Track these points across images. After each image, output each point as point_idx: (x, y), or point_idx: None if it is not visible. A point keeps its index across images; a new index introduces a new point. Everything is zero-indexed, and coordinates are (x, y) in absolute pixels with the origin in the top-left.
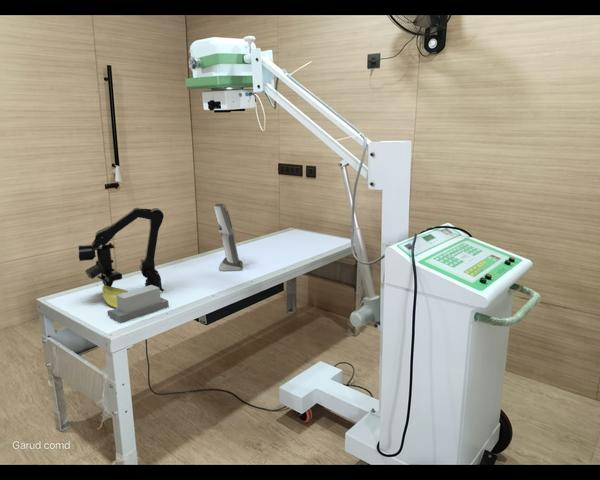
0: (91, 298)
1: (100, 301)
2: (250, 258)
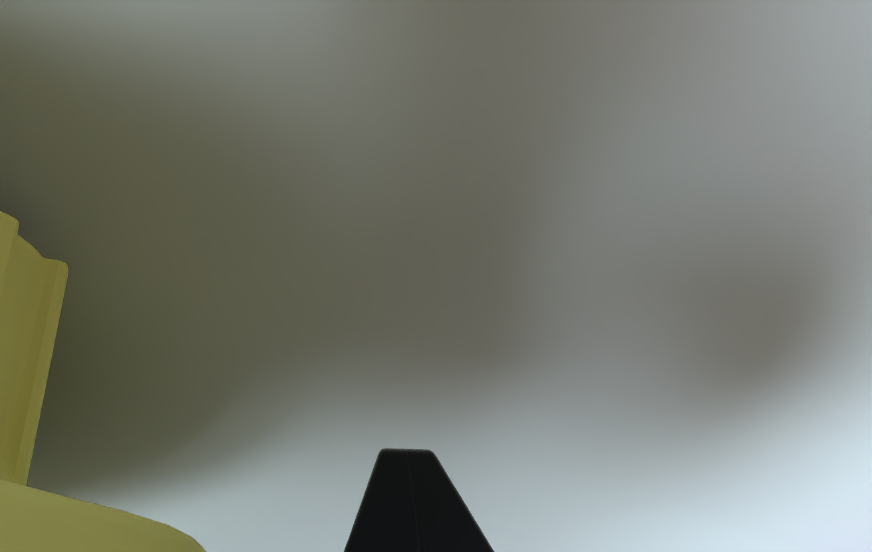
0: (835, 45)
1: (337, 40)
2: None
